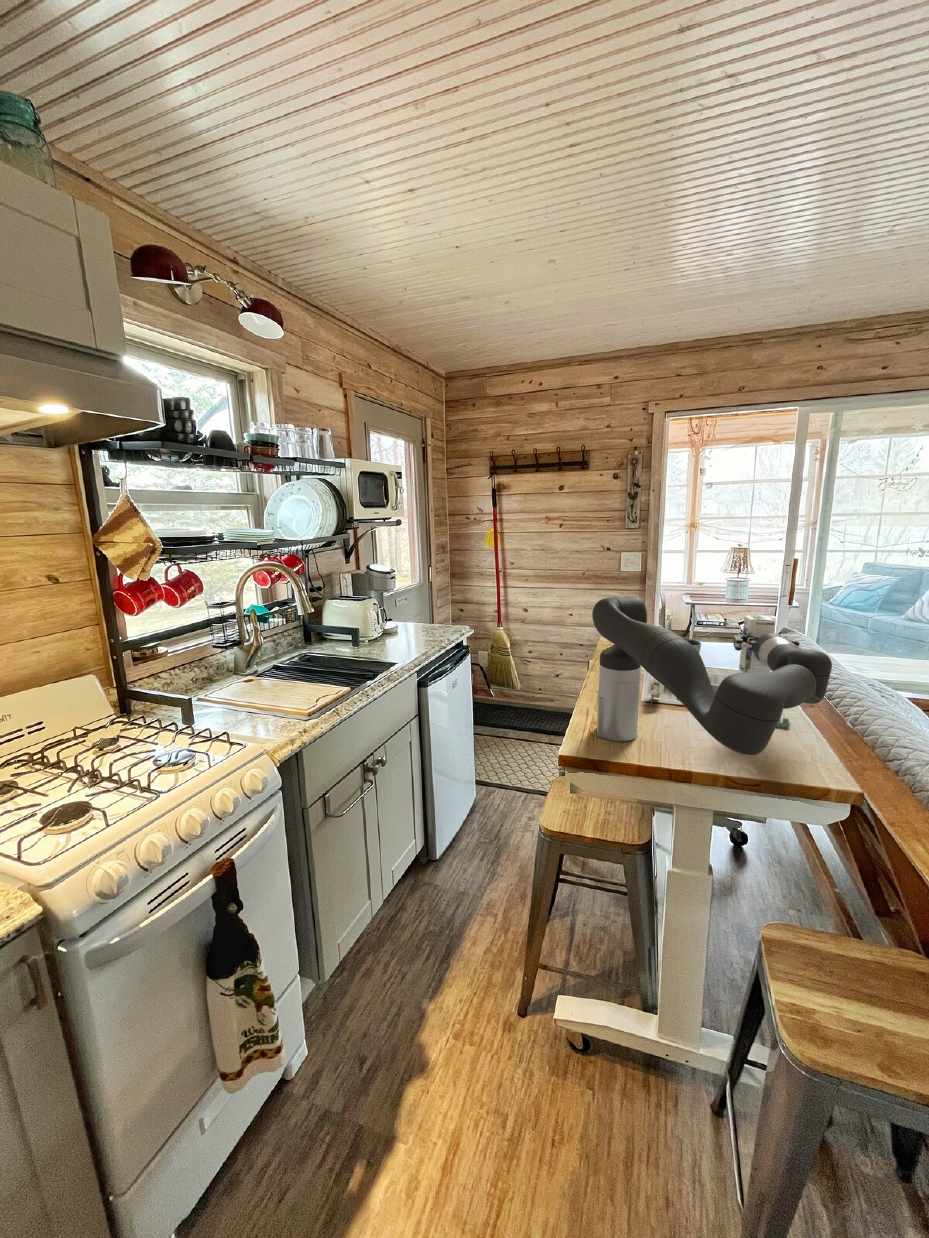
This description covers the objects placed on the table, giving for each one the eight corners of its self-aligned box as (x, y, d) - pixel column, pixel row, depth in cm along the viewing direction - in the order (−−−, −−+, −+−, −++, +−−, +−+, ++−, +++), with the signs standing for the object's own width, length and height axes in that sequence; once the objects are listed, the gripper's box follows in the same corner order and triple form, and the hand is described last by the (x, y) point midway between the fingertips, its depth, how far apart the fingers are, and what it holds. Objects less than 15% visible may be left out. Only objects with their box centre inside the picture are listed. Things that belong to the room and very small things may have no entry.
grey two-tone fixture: (678, 695, 151) (680, 673, 150) (678, 718, 135) (679, 694, 133) (635, 690, 155) (636, 669, 154) (629, 712, 139) (630, 689, 138)
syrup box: (738, 669, 136) (742, 614, 133) (762, 670, 135) (768, 615, 132) (744, 676, 131) (750, 619, 128) (770, 677, 129) (776, 619, 126)
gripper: (740, 668, 120) (722, 649, 136) (811, 671, 116) (784, 651, 132) (743, 636, 118) (724, 621, 134) (815, 638, 115) (787, 622, 131)
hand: (754, 636), depth 133 cm, fingers closed on syrup box, 6 cm apart
